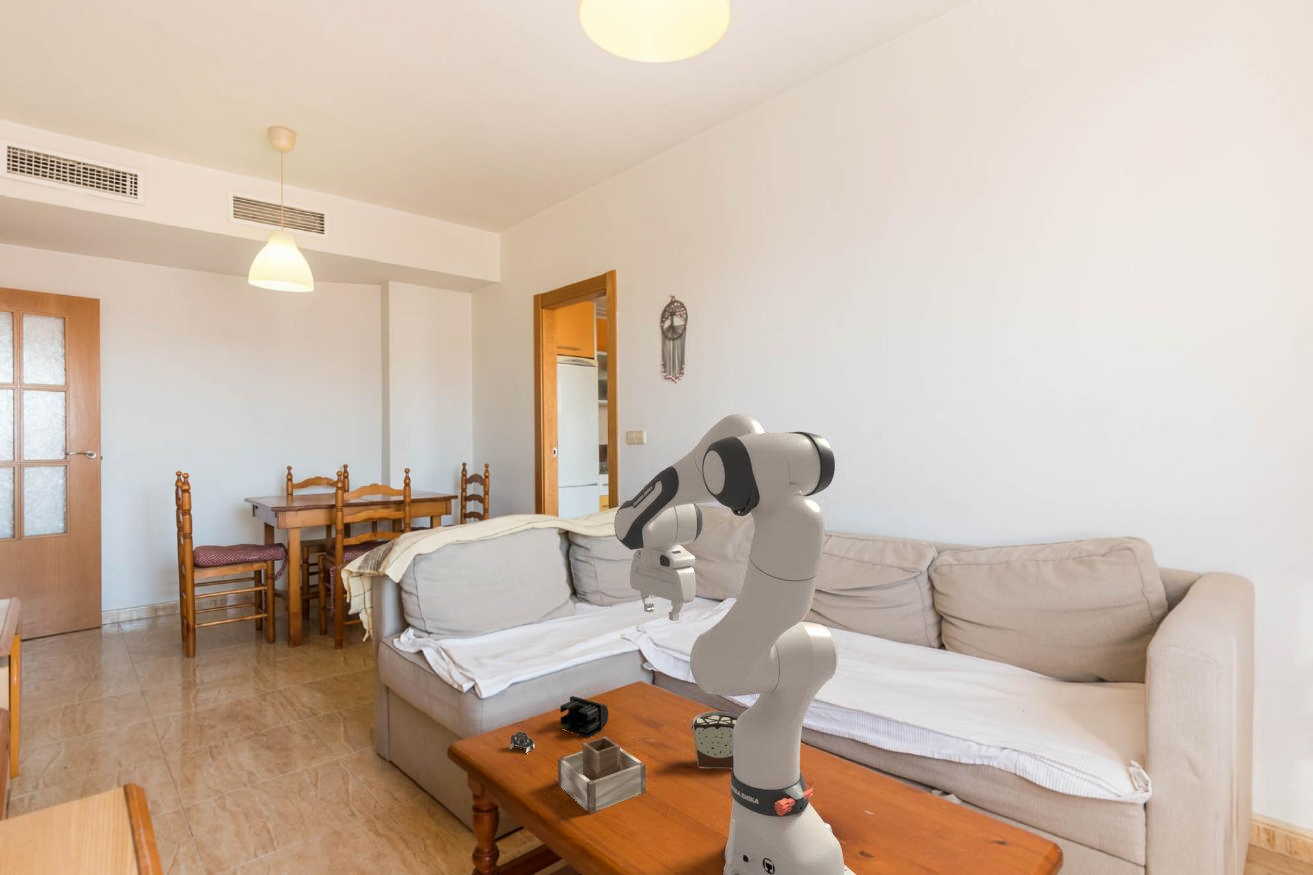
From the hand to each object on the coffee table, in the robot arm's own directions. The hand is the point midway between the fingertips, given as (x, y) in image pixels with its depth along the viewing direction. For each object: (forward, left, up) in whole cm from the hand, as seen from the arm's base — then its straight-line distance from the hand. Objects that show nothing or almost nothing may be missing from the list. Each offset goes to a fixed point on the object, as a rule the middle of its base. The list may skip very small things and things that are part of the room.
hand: (661, 615), depth 149 cm
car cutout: (+18, +22, -32) cm, 43 cm away
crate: (-4, +18, -31) cm, 36 cm away
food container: (-10, -8, -31) cm, 34 cm away
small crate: (-4, +18, -30) cm, 36 cm away
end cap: (+23, +7, -31) cm, 40 cm away
